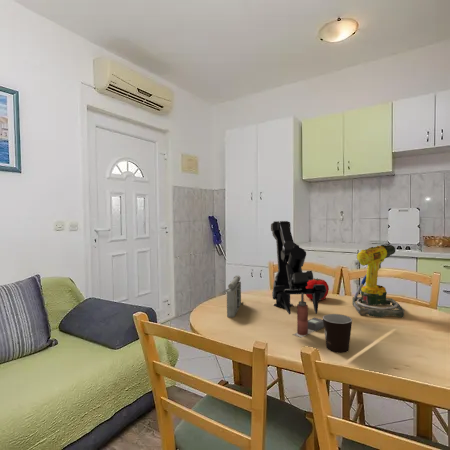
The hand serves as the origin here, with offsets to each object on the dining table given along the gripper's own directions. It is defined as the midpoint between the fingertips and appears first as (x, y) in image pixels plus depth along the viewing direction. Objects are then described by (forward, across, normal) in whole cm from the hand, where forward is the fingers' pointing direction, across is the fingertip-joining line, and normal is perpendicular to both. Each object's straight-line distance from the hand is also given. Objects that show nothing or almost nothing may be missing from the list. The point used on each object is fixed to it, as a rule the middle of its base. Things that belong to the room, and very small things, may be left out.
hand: (303, 313), depth 108 cm
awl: (+4, 0, +6) cm, 8 cm away
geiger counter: (-18, -23, +30) cm, 42 cm away
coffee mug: (+13, +8, -1) cm, 15 cm away
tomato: (-26, +18, +38) cm, 50 cm away
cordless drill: (-13, +39, +25) cm, 48 cm away
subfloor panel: (0, 0, +11) cm, 11 cm away
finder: (+1, +6, +10) cm, 12 cm away
